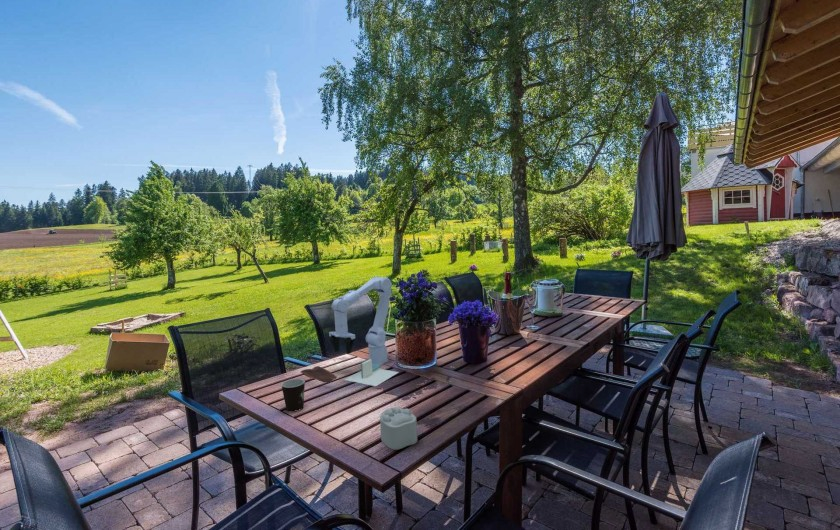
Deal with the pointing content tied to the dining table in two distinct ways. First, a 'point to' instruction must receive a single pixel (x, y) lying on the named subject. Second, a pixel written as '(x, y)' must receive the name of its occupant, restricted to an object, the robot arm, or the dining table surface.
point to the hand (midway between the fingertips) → (343, 352)
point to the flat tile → (375, 368)
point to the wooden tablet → (319, 374)
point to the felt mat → (372, 377)
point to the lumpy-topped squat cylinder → (398, 428)
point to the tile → (366, 368)
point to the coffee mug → (293, 394)
